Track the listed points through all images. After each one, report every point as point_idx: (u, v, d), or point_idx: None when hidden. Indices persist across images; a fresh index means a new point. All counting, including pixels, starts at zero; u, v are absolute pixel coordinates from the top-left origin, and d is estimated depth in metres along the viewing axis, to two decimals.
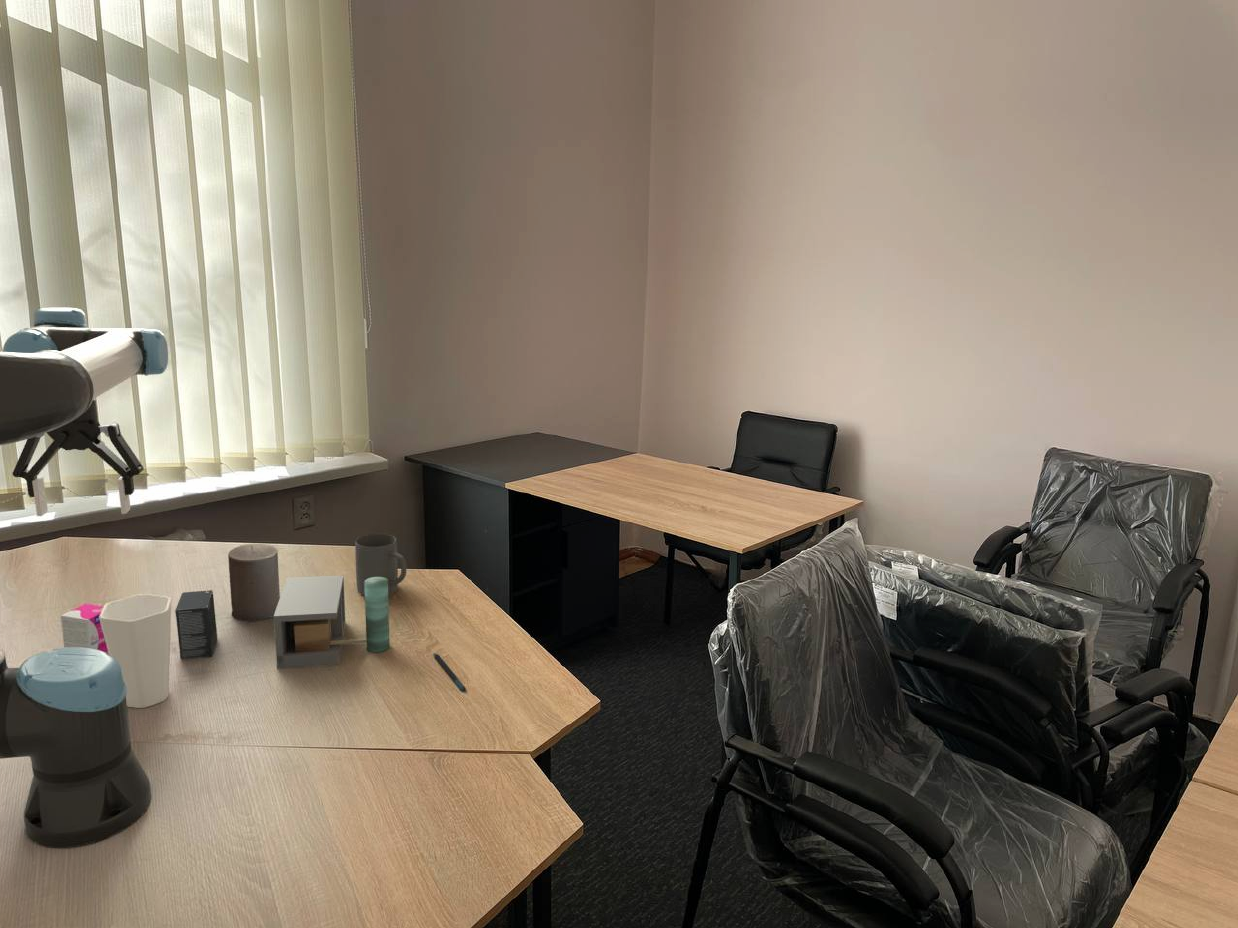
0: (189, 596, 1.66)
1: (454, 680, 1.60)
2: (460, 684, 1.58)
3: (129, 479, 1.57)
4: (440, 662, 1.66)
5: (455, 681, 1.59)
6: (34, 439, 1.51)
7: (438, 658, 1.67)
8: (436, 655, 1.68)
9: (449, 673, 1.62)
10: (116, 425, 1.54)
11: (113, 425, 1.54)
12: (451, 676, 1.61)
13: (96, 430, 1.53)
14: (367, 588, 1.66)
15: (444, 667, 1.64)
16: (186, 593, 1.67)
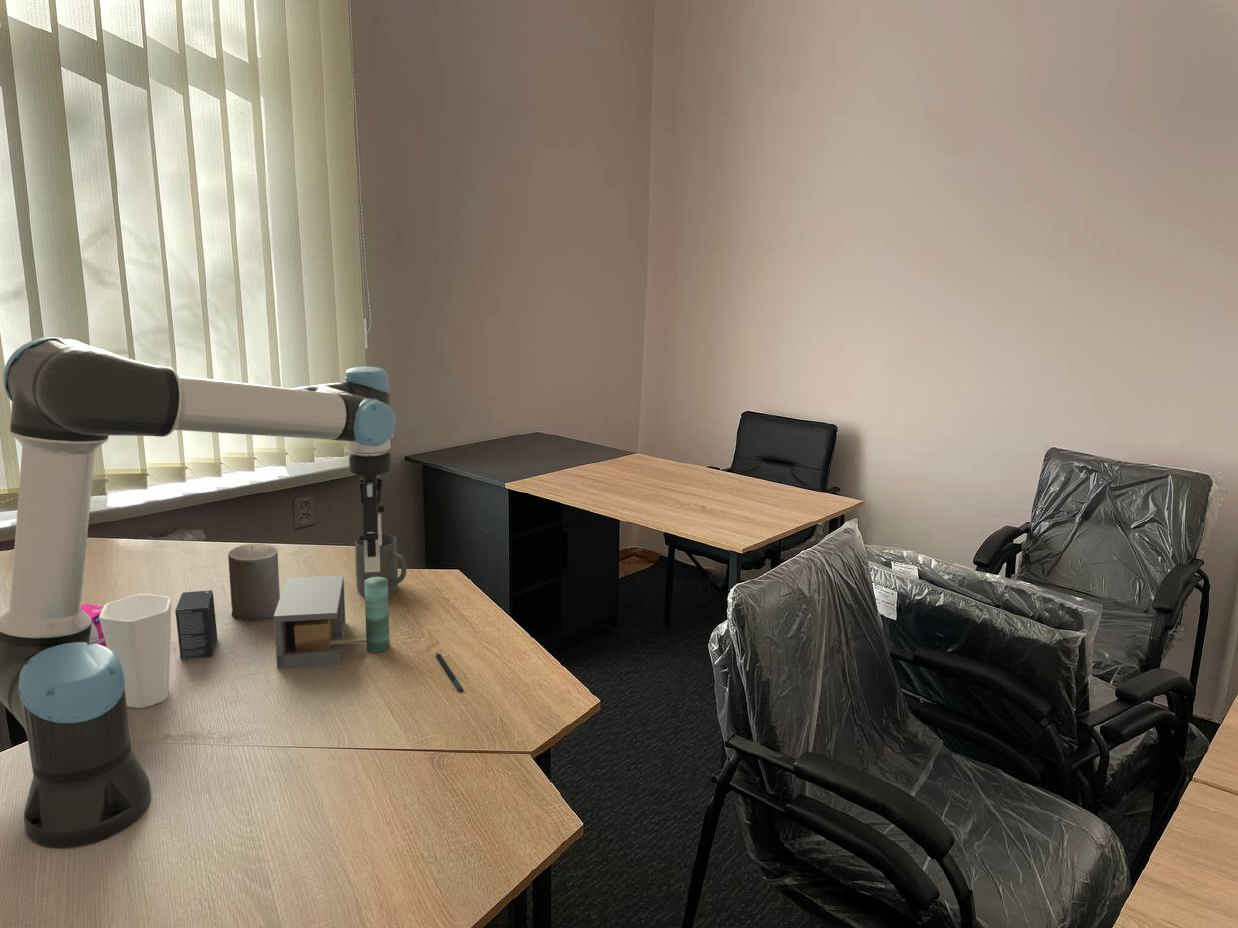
0: (189, 596, 1.66)
1: (452, 680, 1.59)
2: (458, 685, 1.58)
3: (367, 542, 1.57)
4: (441, 662, 1.66)
5: (453, 681, 1.59)
6: None
7: (439, 658, 1.67)
8: (438, 655, 1.68)
9: (448, 673, 1.62)
10: (370, 487, 1.56)
11: (366, 486, 1.56)
12: (450, 676, 1.61)
13: None
14: (367, 588, 1.66)
15: (444, 667, 1.64)
16: (186, 593, 1.67)
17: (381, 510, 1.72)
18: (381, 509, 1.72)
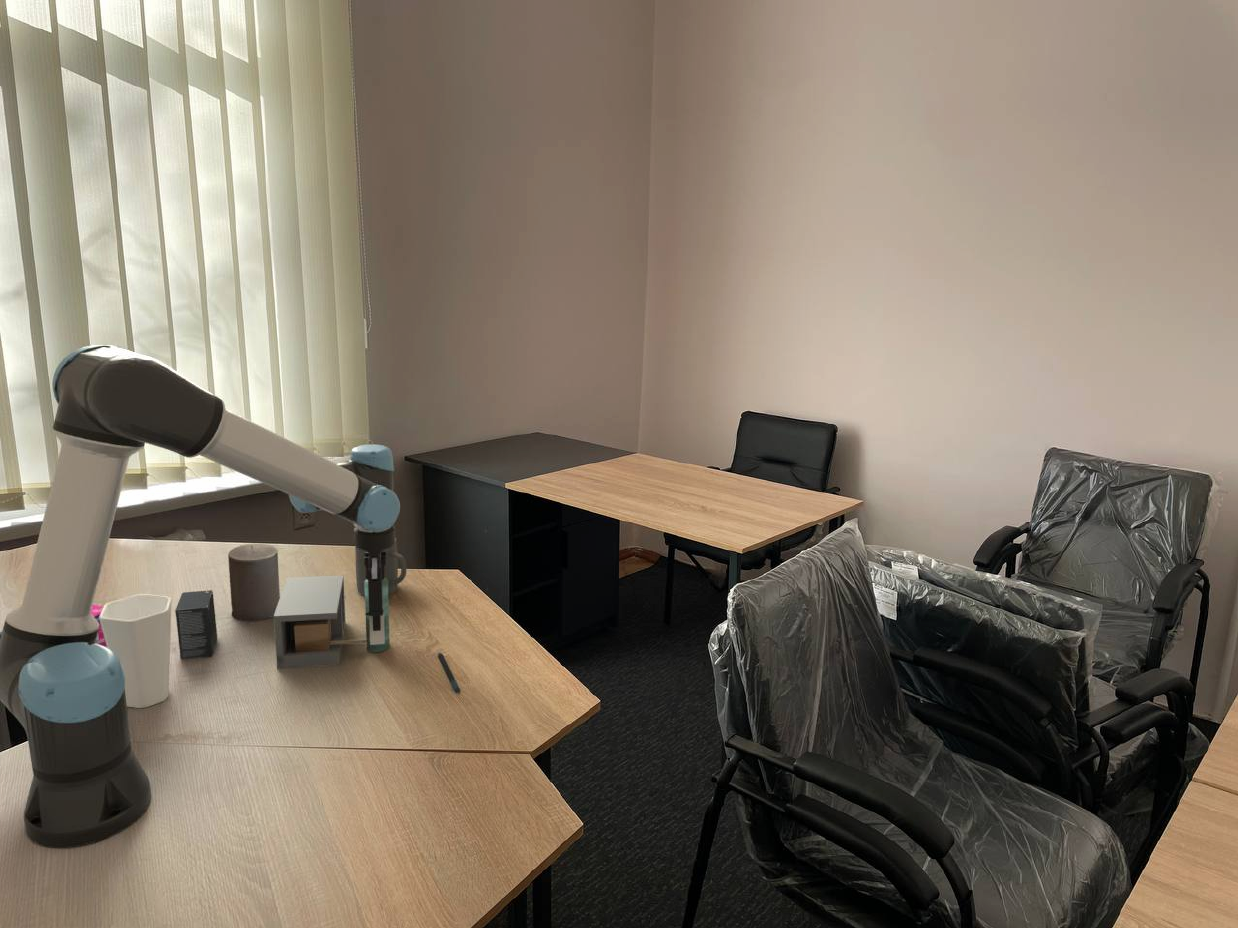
0: (189, 596, 1.66)
1: (450, 681, 1.59)
2: (455, 685, 1.57)
3: (372, 617, 1.65)
4: (442, 662, 1.66)
5: (451, 682, 1.59)
6: None
7: (441, 657, 1.67)
8: (439, 654, 1.68)
9: (447, 673, 1.62)
10: (375, 572, 1.60)
11: (370, 571, 1.60)
12: (449, 676, 1.61)
13: (368, 563, 1.62)
14: (367, 588, 1.66)
15: (444, 667, 1.64)
16: (186, 593, 1.67)
17: None
18: None
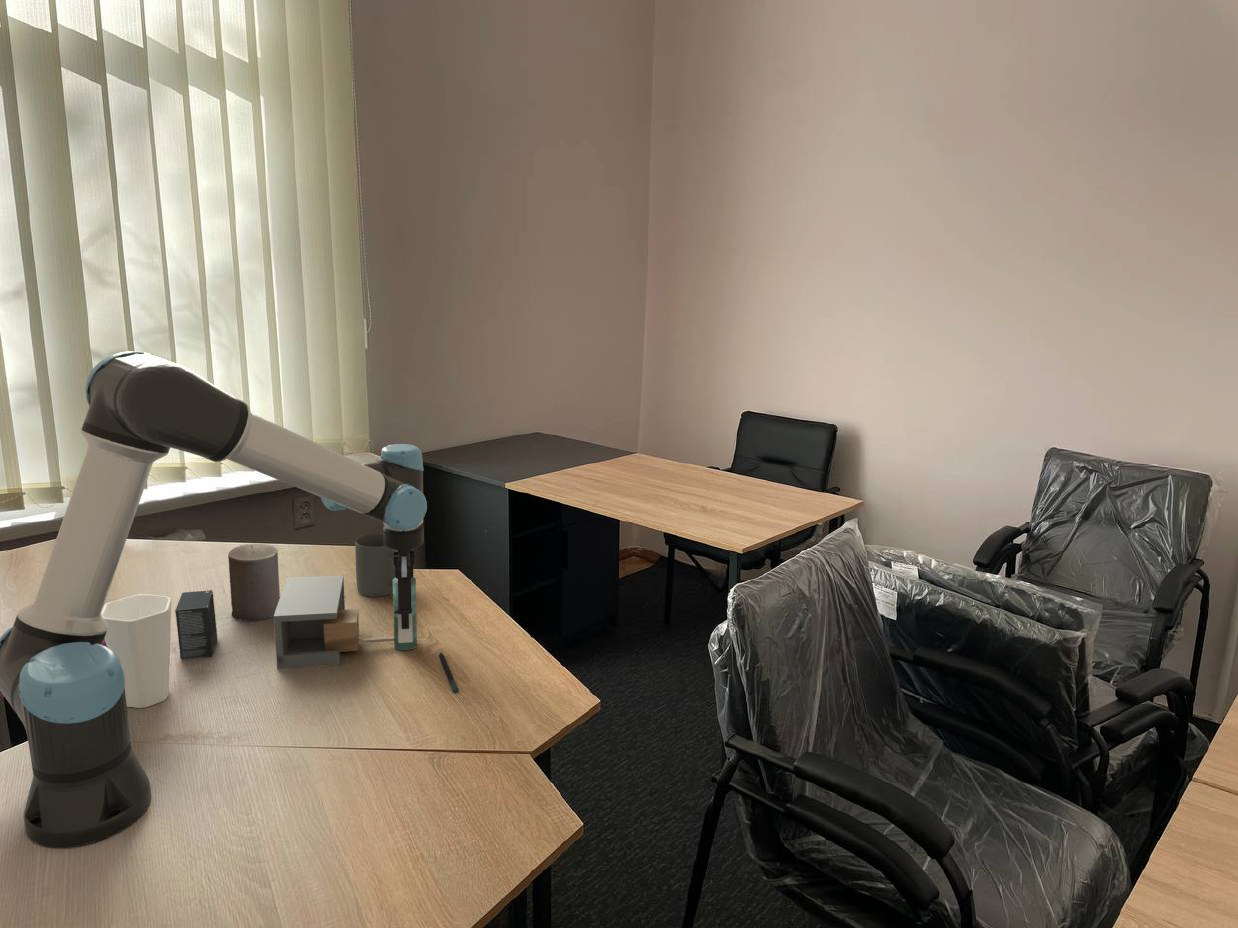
0: (189, 596, 1.66)
1: (450, 681, 1.59)
2: (454, 685, 1.57)
3: (401, 615, 1.66)
4: (442, 661, 1.66)
5: (450, 682, 1.59)
6: None
7: (441, 657, 1.67)
8: (440, 654, 1.68)
9: (447, 673, 1.62)
10: (405, 571, 1.61)
11: (400, 569, 1.61)
12: (448, 676, 1.61)
13: (398, 561, 1.64)
14: (395, 587, 1.67)
15: (444, 667, 1.64)
16: (186, 593, 1.67)
17: None
18: None
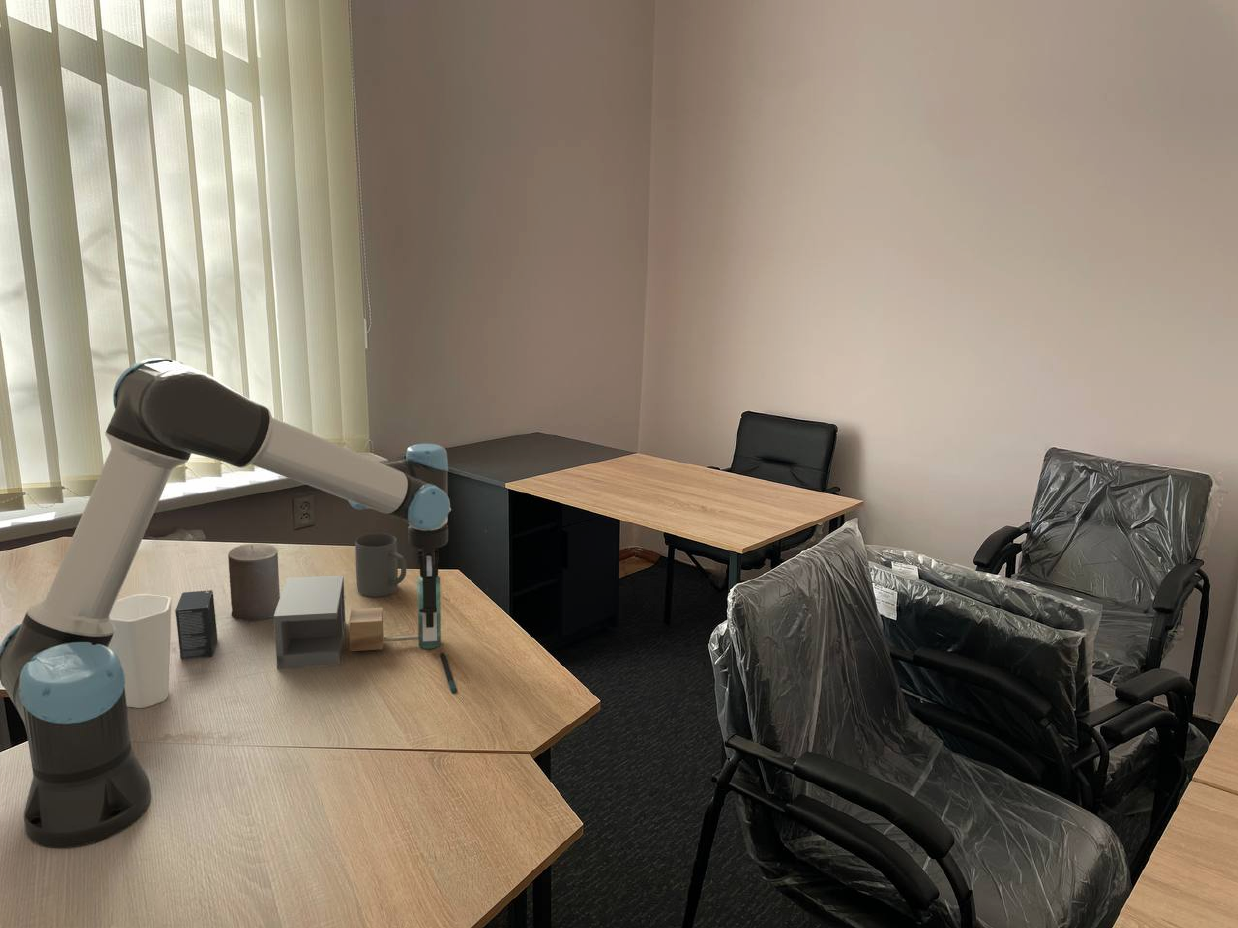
0: (189, 596, 1.66)
1: (448, 681, 1.59)
2: (452, 686, 1.57)
3: (426, 614, 1.68)
4: (443, 661, 1.66)
5: (449, 682, 1.59)
6: None
7: (442, 657, 1.67)
8: (442, 654, 1.68)
9: (446, 673, 1.62)
10: (430, 570, 1.62)
11: (425, 568, 1.62)
12: (447, 677, 1.61)
13: (423, 560, 1.65)
14: (420, 586, 1.68)
15: (444, 667, 1.64)
16: (186, 593, 1.67)
17: None
18: None
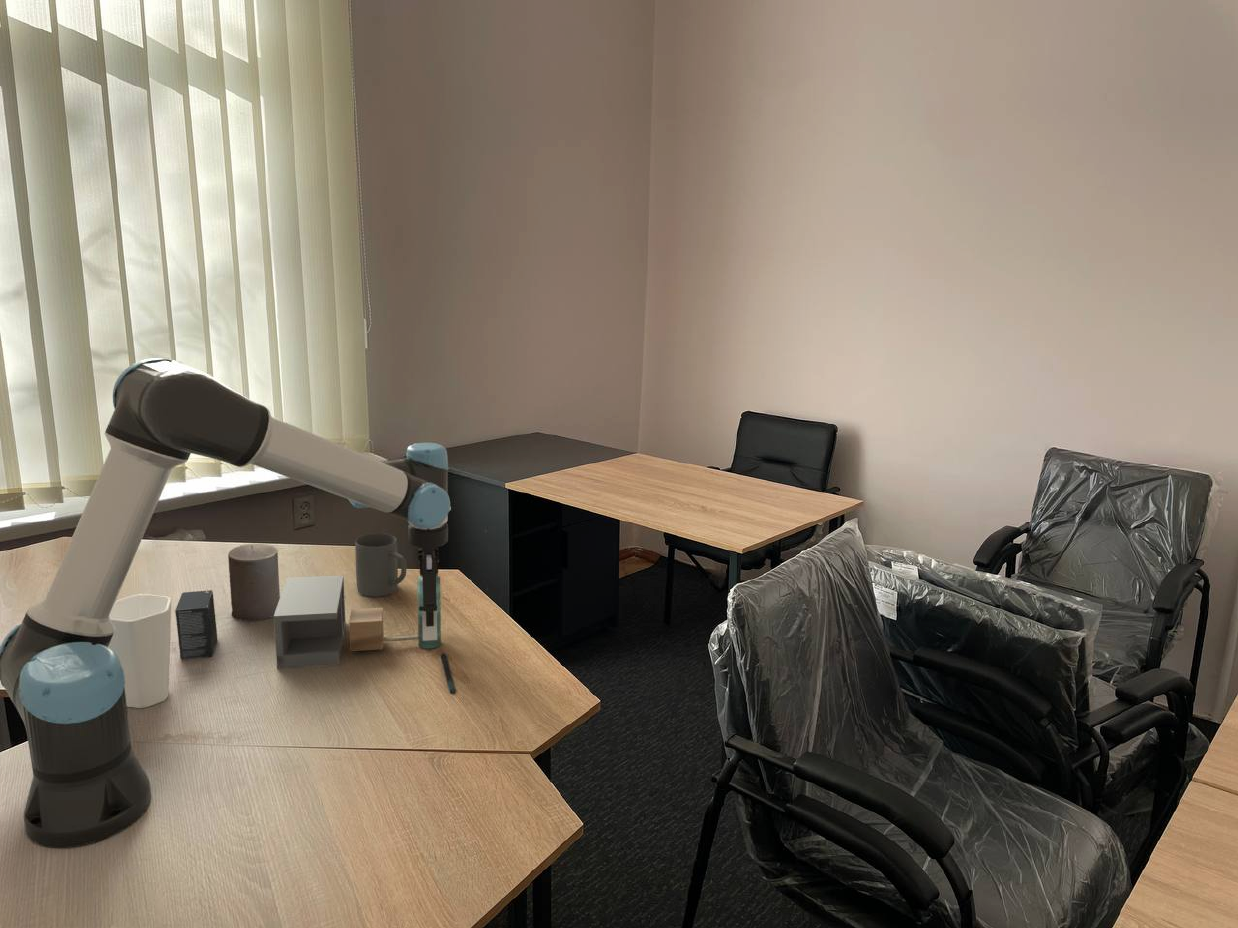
0: (189, 596, 1.66)
1: (447, 681, 1.59)
2: (451, 686, 1.57)
3: (426, 612, 1.63)
4: (443, 661, 1.66)
5: (448, 682, 1.59)
6: None
7: (443, 657, 1.67)
8: (442, 654, 1.68)
9: (446, 673, 1.62)
10: (430, 560, 1.62)
11: (425, 559, 1.62)
12: (447, 677, 1.61)
13: (423, 558, 1.64)
14: (420, 586, 1.68)
15: (444, 667, 1.64)
16: (186, 593, 1.67)
17: None
18: None
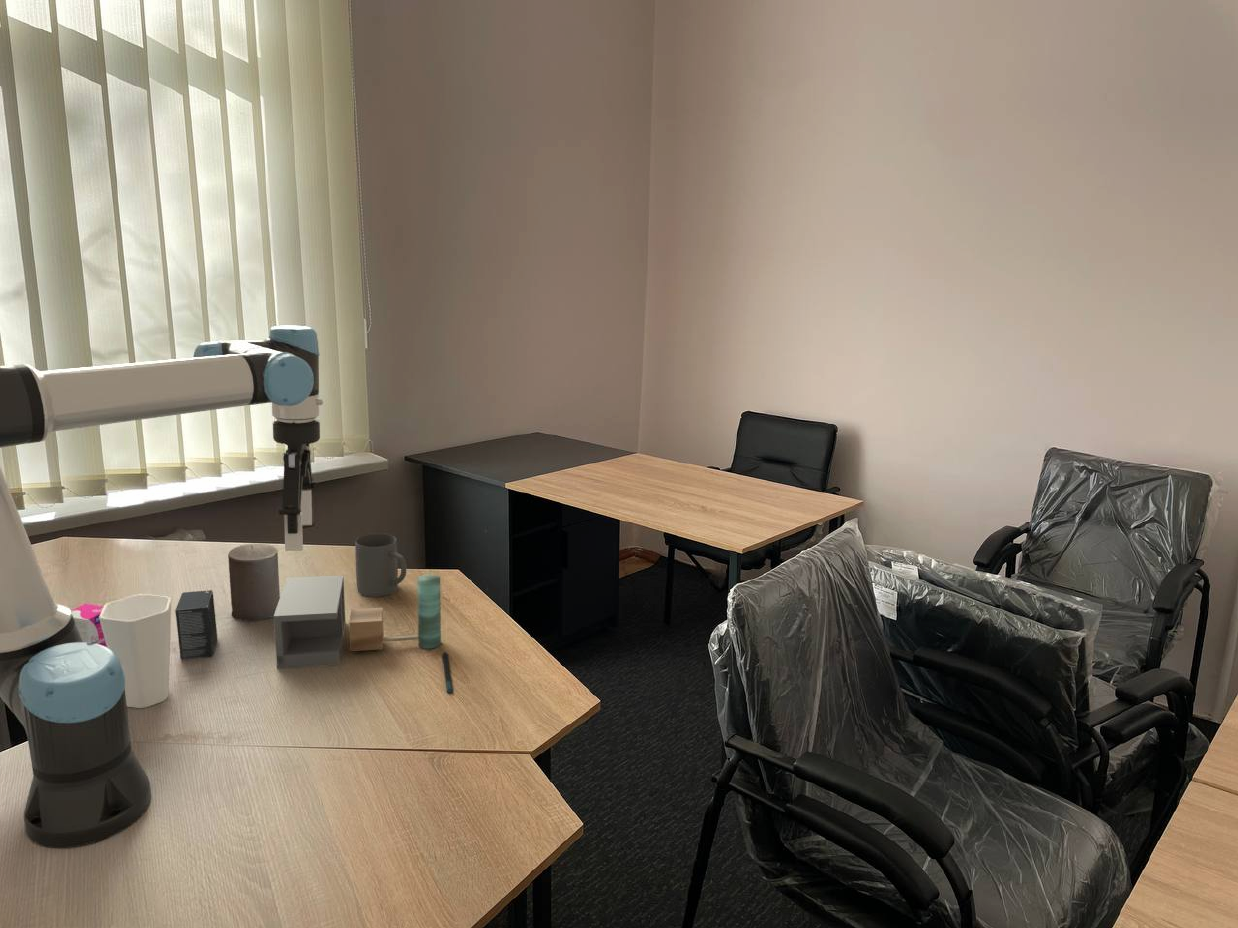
0: (189, 596, 1.66)
1: (446, 681, 1.59)
2: (448, 686, 1.57)
3: None
4: (444, 661, 1.66)
5: (446, 682, 1.59)
6: None
7: (444, 657, 1.67)
8: (444, 654, 1.69)
9: (445, 673, 1.62)
10: (293, 457, 1.42)
11: (287, 455, 1.42)
12: (445, 677, 1.60)
13: None
14: (420, 586, 1.68)
15: (444, 667, 1.64)
16: (186, 593, 1.67)
17: (312, 486, 1.58)
18: (312, 485, 1.58)
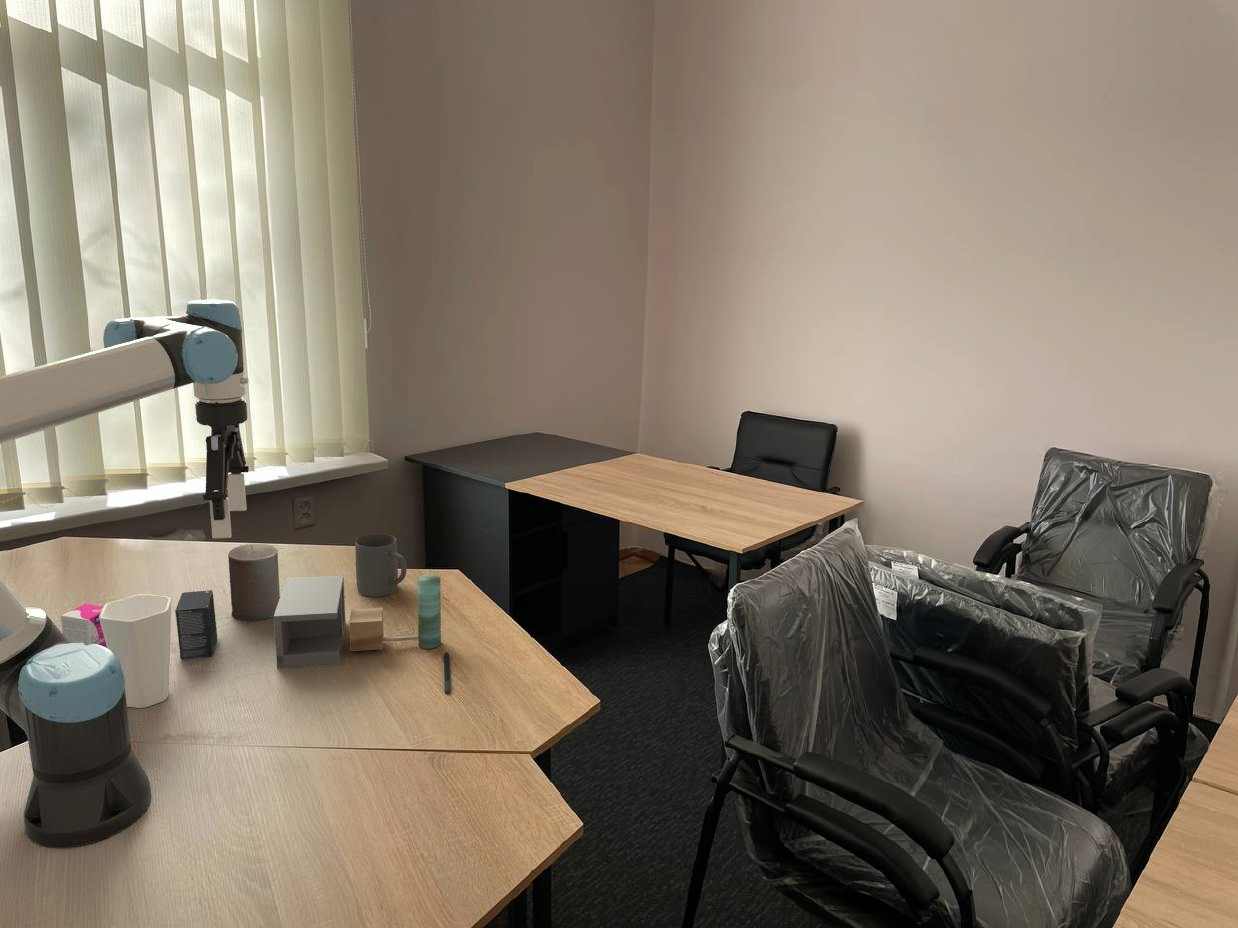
0: (189, 596, 1.66)
1: (445, 681, 1.59)
2: (447, 686, 1.57)
3: None
4: (444, 661, 1.66)
5: (445, 682, 1.59)
6: None
7: (445, 657, 1.67)
8: (445, 654, 1.69)
9: (445, 673, 1.62)
10: (215, 439, 1.34)
11: (210, 437, 1.34)
12: (445, 677, 1.60)
13: None
14: (420, 586, 1.68)
15: (444, 667, 1.64)
16: (186, 593, 1.67)
17: (244, 470, 1.50)
18: (245, 469, 1.50)
